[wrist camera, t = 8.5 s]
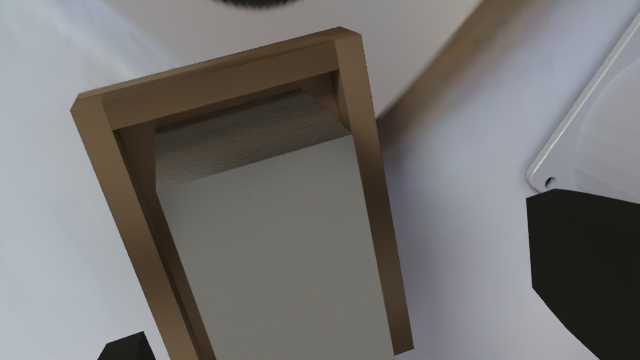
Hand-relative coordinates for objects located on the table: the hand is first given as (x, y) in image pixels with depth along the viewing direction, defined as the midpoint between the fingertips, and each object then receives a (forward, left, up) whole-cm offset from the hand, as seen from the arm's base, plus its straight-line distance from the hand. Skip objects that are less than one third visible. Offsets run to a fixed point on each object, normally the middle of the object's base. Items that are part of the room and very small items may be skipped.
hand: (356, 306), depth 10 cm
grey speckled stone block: (-1, +2, -9) cm, 9 cm away
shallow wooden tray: (-1, +2, -9) cm, 10 cm away
